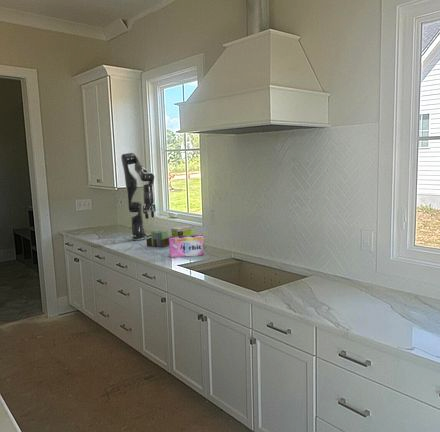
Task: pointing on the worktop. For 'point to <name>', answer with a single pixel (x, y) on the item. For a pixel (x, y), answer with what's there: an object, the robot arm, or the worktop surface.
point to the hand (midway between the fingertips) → (149, 218)
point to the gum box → (186, 245)
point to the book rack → (149, 243)
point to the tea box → (182, 231)
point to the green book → (164, 235)
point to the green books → (154, 235)
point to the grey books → (158, 239)
